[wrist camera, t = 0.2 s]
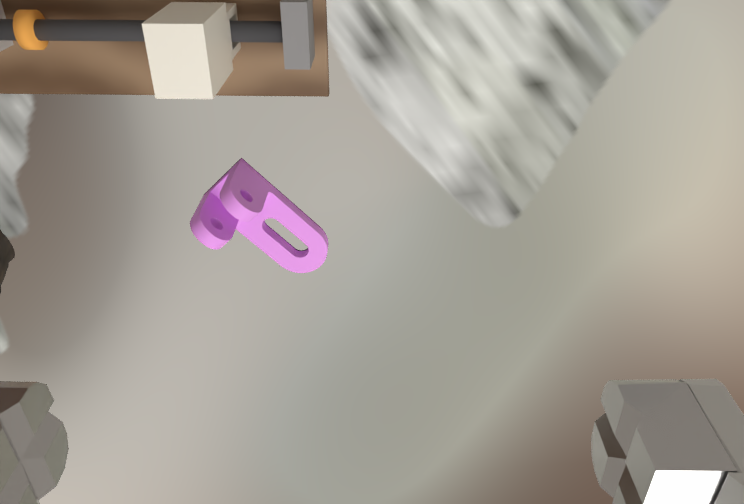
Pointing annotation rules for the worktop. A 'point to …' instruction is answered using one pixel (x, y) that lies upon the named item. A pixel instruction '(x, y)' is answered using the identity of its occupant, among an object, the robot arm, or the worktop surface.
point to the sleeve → (190, 49)
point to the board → (130, 60)
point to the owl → (5, 256)
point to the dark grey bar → (39, 31)
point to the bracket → (257, 219)
